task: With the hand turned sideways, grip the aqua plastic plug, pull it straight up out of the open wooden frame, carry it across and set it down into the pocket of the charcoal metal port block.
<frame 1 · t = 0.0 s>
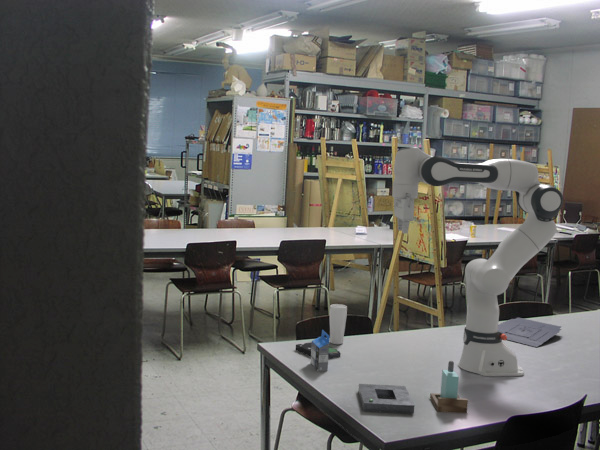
hand: (402, 231, 221), 48 cm above the table, fingers open, 8 cm apart
plug: (447, 405, 188), resting in open wooden frame
disk drive: (317, 355, 234), on the table
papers: (524, 336, 276), on the table
open wooden frame: (448, 405, 188), on the table
blue product box: (318, 367, 218), on the table
port block: (384, 402, 188), on the table
drinking glass: (336, 343, 249), on the table
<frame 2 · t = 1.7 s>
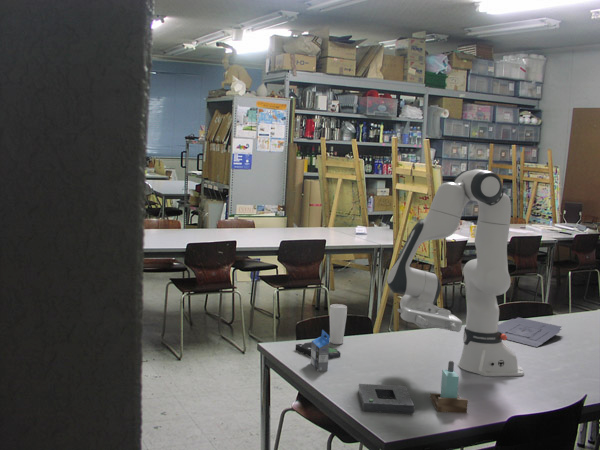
hand: (439, 325, 198), 21 cm above the table, fingers open, 8 cm apart
nothing on the table moved.
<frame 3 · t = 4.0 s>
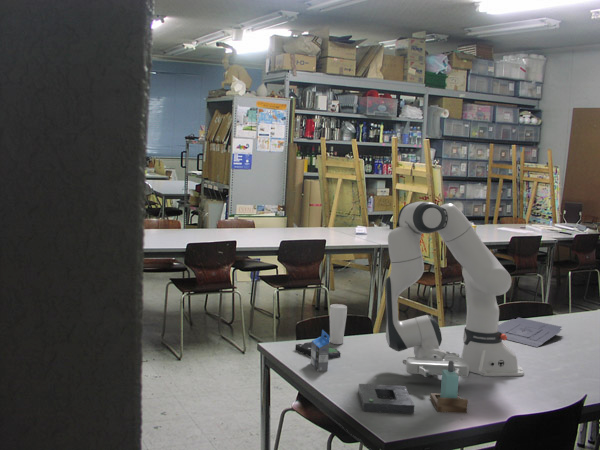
hand: (441, 374, 198), 6 cm above the table, fingers open, 8 cm apart
nothing on the table moved.
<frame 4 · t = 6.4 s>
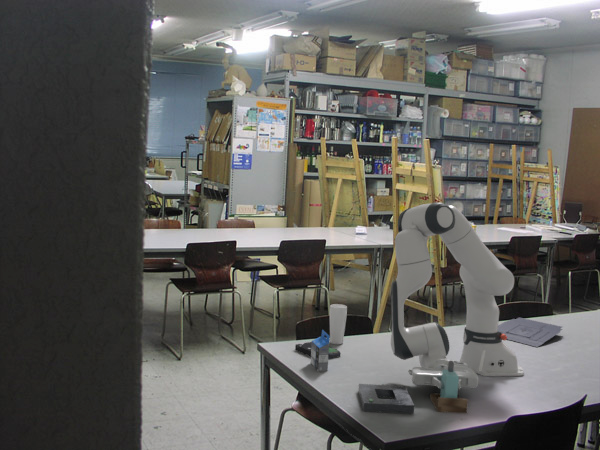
hand: (449, 386, 187), 6 cm above the table, fingers closed on plug, 3 cm apart
plug: (447, 405, 188), resting in open wooden frame, touching gripper
everything else where it was.
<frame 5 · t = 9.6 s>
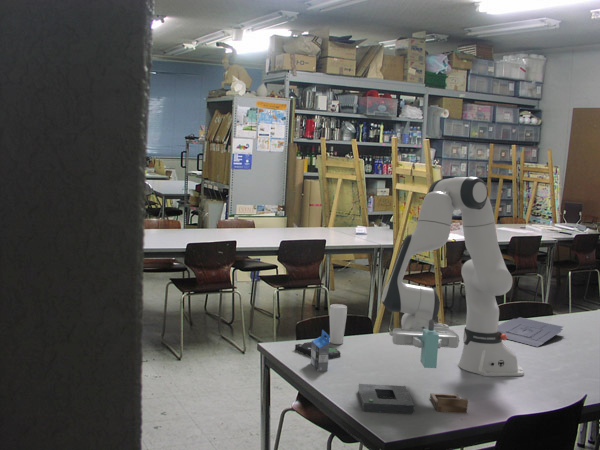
hand: (429, 345, 186), 18 cm above the table, fingers closed on plug, 3 cm apart
plug: (428, 364, 187), point 12 cm above the table, touching gripper
everything else where it was.
when the fingers open (7 cm above the table, at t = 12.8 s): plug drops 1 cm, resting in port block.
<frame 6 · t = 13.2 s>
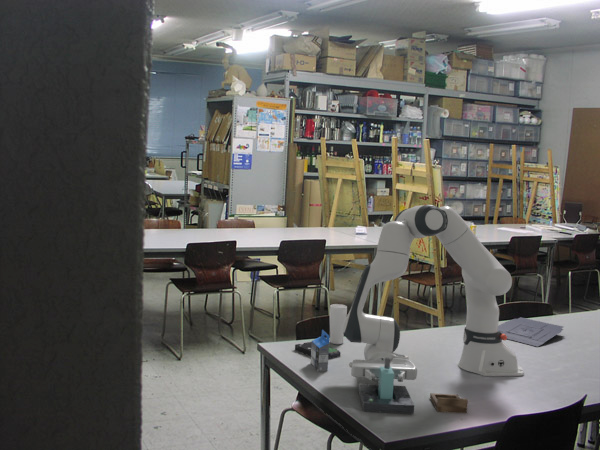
hand: (386, 378, 187), 7 cm above the table, fingers open, 7 cm apart
plug: (384, 402, 188), resting in port block
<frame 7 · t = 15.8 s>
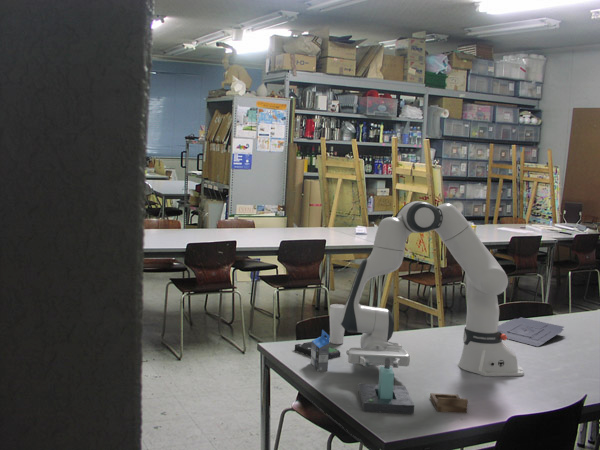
hand: (381, 364, 200), 7 cm above the table, fingers open, 8 cm apart
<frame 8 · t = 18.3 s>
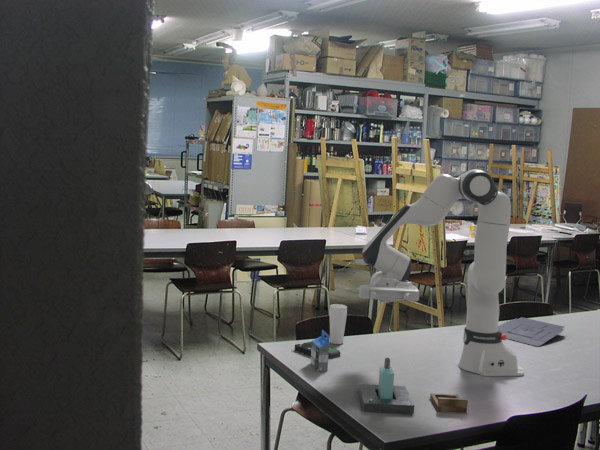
hand: (391, 297, 205), 28 cm above the table, fingers open, 8 cm apart
at the end: plug 0.1 cm off-centre on the port block, point 0.0 cm above the port block's base; plug tilted 0°; the gripper is holding nothing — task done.
